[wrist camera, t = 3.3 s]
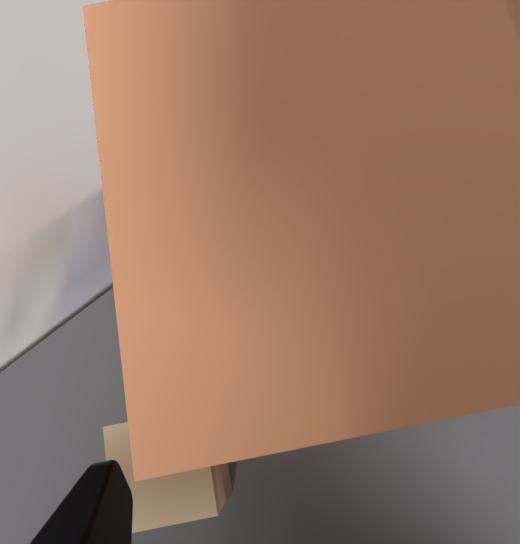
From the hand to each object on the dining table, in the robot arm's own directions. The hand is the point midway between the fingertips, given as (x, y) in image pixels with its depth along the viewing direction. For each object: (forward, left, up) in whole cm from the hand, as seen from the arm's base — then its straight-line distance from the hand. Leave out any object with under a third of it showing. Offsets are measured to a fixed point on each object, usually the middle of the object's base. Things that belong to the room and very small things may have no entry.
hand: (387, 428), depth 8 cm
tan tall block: (+2, -3, -10) cm, 11 cm away
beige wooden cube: (+5, +3, -11) cm, 12 cm away
